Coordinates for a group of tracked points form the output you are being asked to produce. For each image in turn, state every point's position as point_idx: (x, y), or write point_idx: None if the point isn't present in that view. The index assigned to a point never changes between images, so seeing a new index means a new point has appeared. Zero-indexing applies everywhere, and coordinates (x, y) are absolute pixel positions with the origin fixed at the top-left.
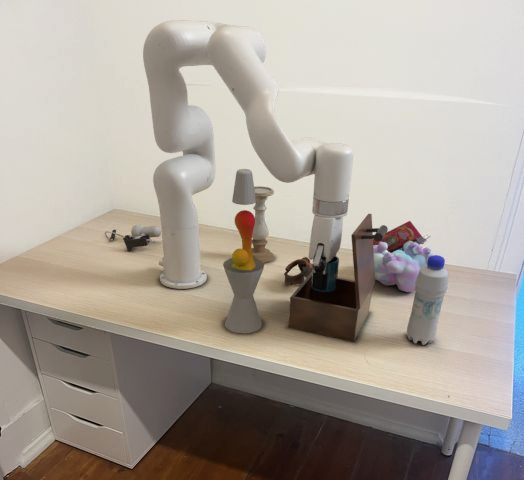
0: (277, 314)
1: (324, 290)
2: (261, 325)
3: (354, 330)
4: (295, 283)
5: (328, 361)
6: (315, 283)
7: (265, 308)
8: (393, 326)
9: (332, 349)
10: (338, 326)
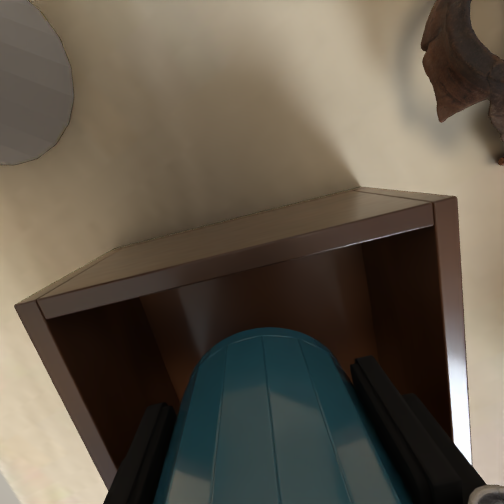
0: (167, 149)
1: None
2: (37, 155)
3: None
4: (429, 68)
5: (47, 443)
6: (116, 477)
7: (174, 65)
8: None
9: None
10: None
